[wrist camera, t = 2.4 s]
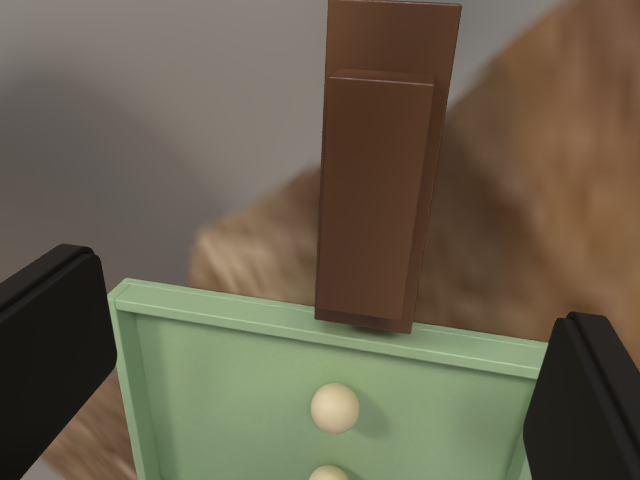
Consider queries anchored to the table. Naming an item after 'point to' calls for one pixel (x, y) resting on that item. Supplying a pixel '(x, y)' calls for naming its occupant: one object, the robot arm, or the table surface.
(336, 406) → the crumb
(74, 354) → the robot arm
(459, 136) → the table surface
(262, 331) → the tray
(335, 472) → the crumb
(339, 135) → the stepped brown post
